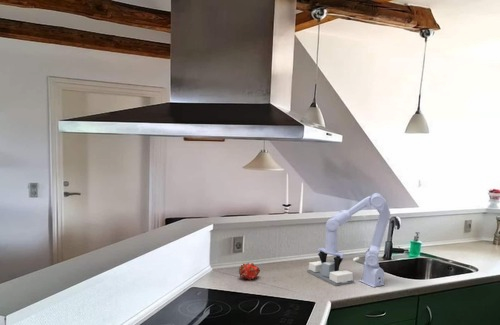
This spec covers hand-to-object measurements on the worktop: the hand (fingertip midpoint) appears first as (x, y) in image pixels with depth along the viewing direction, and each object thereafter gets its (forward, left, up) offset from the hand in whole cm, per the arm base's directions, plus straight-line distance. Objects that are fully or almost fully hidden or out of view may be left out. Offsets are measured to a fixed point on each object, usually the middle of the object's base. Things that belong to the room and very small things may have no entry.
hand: (330, 268), depth 188 cm
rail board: (0, 0, -4) cm, 4 cm away
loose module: (0, 0, -3) cm, 3 cm away
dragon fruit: (+14, +39, -5) cm, 42 cm away
